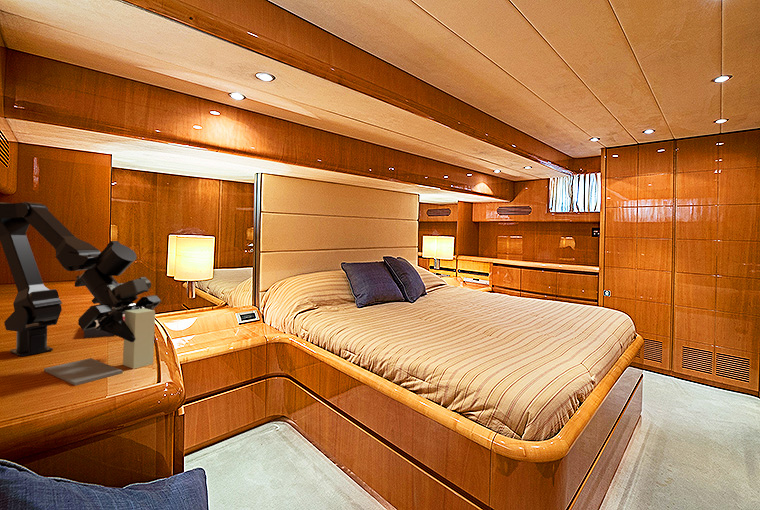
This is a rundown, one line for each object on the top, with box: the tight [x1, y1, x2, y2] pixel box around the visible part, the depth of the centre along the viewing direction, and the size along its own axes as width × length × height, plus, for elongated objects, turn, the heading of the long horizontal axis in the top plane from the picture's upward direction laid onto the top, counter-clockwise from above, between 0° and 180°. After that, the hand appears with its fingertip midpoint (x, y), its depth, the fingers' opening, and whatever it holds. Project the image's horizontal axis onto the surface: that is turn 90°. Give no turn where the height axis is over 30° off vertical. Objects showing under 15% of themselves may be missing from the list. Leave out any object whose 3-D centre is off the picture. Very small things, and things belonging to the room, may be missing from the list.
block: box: [122, 308, 156, 370], centre depth 90 cm, size 4×4×13 cm
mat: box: [43, 357, 124, 386], centre depth 84 cm, size 14×9×1 cm, turn 62°
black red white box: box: [83, 314, 125, 339], centre depth 118 cm, size 11×4×15 cm
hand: (144, 337), depth 90 cm, fingers closed on block, 6 cm apart
